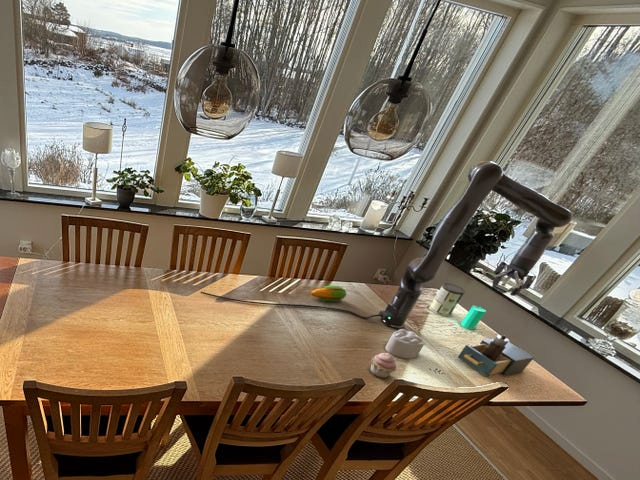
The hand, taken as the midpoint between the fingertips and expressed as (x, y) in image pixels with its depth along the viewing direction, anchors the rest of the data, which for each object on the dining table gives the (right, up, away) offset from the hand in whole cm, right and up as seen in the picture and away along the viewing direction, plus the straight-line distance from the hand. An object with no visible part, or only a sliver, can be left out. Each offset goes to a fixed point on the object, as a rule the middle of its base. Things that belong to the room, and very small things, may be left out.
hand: (503, 290), depth 171 cm
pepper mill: (-8, -31, 0) cm, 32 cm away
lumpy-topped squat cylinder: (-43, -26, +3) cm, 50 cm away
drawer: (-12, -32, -1) cm, 34 cm away
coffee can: (+1, -7, +41) cm, 41 cm away
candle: (+8, -16, +30) cm, 35 cm away
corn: (-62, -2, +35) cm, 71 cm away
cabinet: (0, -32, +4) cm, 32 cm away
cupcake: (-61, -34, -13) cm, 71 cm away
